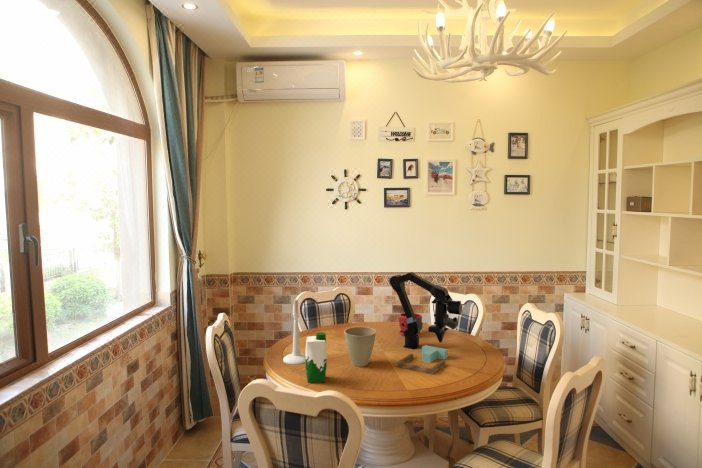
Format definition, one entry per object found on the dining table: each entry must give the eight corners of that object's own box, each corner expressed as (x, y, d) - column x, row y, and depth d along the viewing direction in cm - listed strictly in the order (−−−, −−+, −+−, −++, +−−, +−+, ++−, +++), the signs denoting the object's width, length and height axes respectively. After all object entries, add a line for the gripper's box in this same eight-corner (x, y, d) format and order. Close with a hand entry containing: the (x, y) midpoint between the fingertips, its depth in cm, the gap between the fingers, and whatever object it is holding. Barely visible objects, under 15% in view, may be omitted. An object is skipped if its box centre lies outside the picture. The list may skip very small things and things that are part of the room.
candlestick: (298, 353, 227) (298, 295, 225) (314, 359, 218) (314, 298, 216) (277, 359, 218) (277, 298, 216) (293, 366, 209) (293, 303, 207)
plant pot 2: (423, 338, 253) (423, 317, 252) (399, 338, 253) (400, 317, 252) (419, 331, 266) (420, 311, 265) (397, 331, 266) (397, 311, 265)
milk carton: (326, 383, 190) (326, 336, 189) (305, 383, 189) (305, 337, 188) (326, 375, 199) (326, 330, 197) (305, 375, 198) (305, 331, 197)
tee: (414, 359, 219) (414, 351, 218) (425, 352, 229) (425, 345, 228) (438, 364, 212) (438, 356, 212) (447, 357, 222) (447, 349, 222)
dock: (396, 366, 209) (397, 362, 209) (410, 357, 221) (410, 353, 221) (433, 374, 200) (433, 370, 199) (445, 364, 212) (445, 360, 211)
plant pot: (339, 361, 216) (339, 328, 215) (367, 357, 222) (367, 325, 221) (351, 371, 203) (351, 337, 201) (381, 367, 208) (381, 333, 207)
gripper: (449, 318, 217) (448, 350, 218) (462, 310, 232) (462, 340, 233) (428, 315, 223) (427, 346, 224) (442, 308, 238) (441, 336, 239)
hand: (440, 342), depth 230 cm, fingers closed
